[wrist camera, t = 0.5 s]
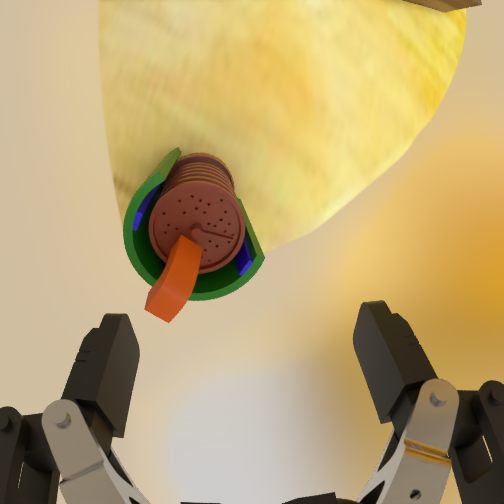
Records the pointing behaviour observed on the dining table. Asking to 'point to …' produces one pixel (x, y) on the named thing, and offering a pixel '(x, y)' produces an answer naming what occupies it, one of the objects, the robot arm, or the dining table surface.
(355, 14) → the dining table surface
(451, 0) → the housing
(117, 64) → the dining table surface
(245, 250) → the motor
